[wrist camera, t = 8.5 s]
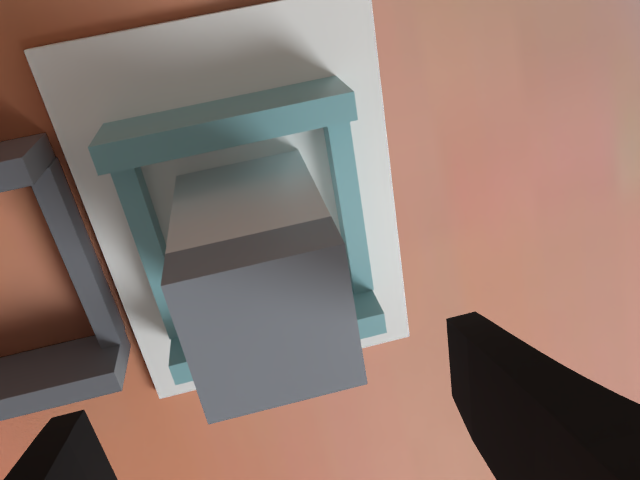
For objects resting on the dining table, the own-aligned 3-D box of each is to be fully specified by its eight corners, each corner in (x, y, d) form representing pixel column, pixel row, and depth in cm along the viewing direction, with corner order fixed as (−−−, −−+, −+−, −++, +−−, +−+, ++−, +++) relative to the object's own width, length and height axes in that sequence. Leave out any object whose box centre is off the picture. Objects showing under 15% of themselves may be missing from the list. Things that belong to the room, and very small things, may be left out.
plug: (207, 281, 20) (208, 424, 14) (176, 175, 18) (160, 286, 12) (318, 255, 20) (367, 383, 14) (298, 149, 18) (345, 243, 12)
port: (160, 392, 22) (154, 448, 20) (27, 48, 16) (-7, 64, 14) (406, 330, 23) (431, 376, 20) (366, -17, 17) (394, -14, 14)
